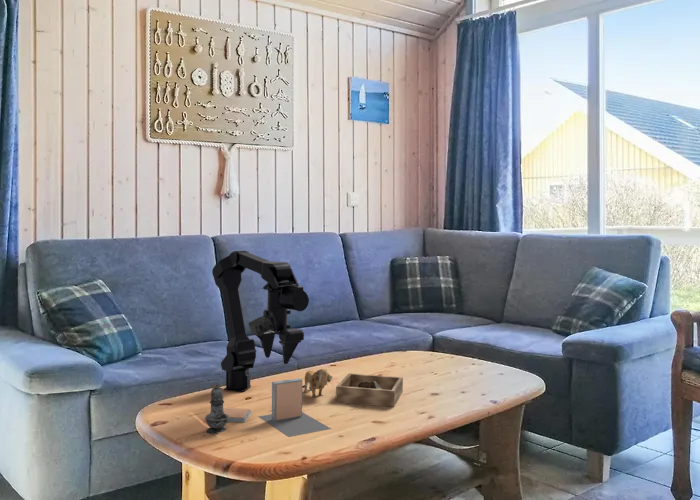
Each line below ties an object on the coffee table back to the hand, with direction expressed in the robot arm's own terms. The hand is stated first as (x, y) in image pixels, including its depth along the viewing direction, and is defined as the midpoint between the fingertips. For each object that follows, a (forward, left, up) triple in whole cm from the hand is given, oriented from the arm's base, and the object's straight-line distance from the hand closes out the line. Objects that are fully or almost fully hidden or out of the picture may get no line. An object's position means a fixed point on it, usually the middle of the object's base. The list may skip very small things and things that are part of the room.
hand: (276, 360), depth 190 cm
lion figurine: (+9, +10, -12) cm, 18 cm away
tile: (+8, -14, -12) cm, 20 cm away
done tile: (-7, -17, -13) cm, 22 cm away
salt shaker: (-6, -27, -12) cm, 30 cm away
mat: (+11, -17, -12) cm, 23 cm away
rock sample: (+25, +13, -13) cm, 31 cm away
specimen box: (+25, +13, -12) cm, 31 cm away
